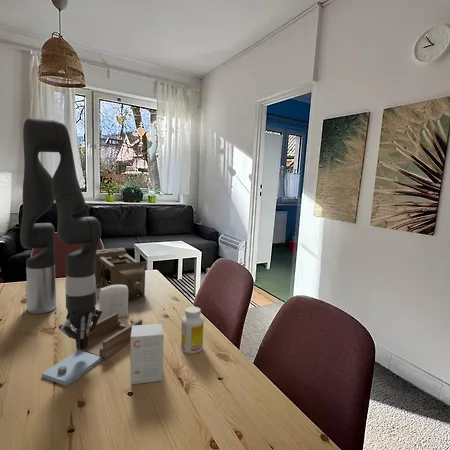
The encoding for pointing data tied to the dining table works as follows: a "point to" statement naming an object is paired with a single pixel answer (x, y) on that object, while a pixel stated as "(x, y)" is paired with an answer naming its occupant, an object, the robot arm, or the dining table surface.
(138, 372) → the small box
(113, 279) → the ornamental box
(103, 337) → the box
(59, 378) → the lid
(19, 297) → the dining table surface
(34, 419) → the dining table surface
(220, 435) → the dining table surface
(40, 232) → the robot arm
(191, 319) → the supplement bottle
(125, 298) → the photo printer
